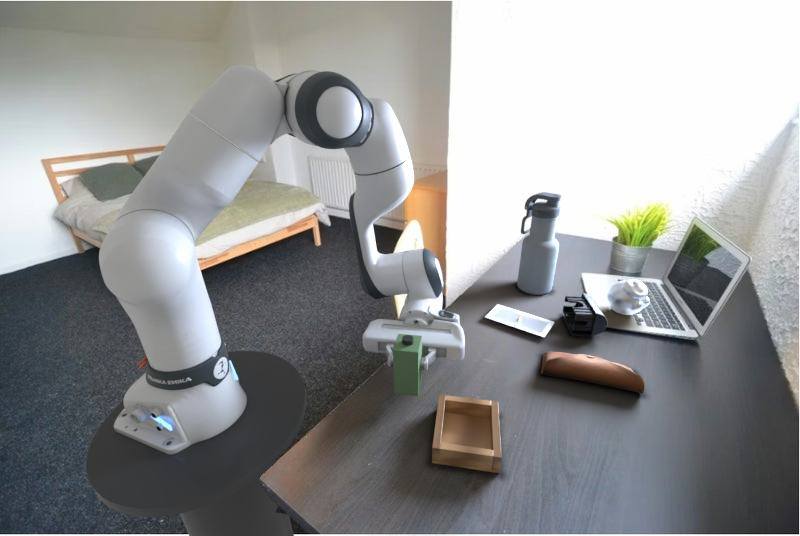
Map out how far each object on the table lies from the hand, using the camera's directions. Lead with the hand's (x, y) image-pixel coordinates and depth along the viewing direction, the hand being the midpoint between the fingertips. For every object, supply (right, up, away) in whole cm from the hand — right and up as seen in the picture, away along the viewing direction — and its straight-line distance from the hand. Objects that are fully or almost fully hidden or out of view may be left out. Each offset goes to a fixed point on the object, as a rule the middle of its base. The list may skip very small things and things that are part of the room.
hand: (407, 365), depth 68 cm
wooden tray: (+10, -11, -5) cm, 15 cm away
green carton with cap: (0, -5, +3) cm, 6 cm away
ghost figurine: (+57, +6, +29) cm, 64 cm away
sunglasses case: (+37, -4, +9) cm, 38 cm away
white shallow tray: (+29, +4, +26) cm, 39 cm away
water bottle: (+38, +12, +43) cm, 59 cm away
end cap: (+43, +3, +24) cm, 50 cm away
